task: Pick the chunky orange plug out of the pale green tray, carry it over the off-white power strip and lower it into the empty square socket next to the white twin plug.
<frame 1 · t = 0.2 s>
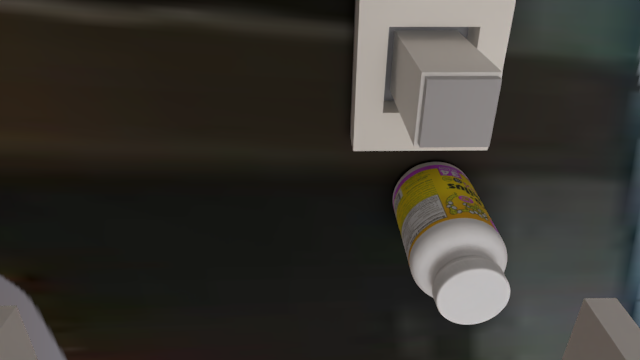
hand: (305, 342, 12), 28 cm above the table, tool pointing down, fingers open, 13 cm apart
supplement bottle: (429, 191, 43), on the table
twin plug: (422, 61, 36), point 1 cm above the table, touching pdu strip
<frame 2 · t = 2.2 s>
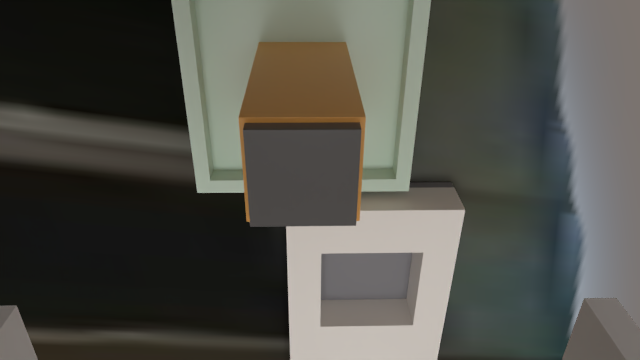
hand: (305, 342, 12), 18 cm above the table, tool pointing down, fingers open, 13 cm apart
pdu strip: (360, 314, 36), on the table
plug: (302, 83, 27), point 1 cm above the table, touching tray
tray: (302, 79, 27), on the table
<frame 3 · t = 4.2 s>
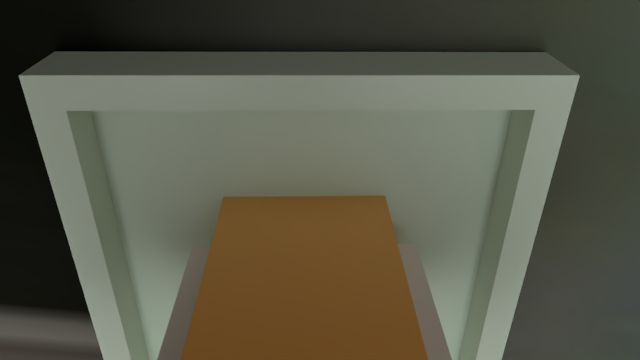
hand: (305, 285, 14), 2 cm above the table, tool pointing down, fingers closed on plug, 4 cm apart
plug: (305, 259, 15), point 1 cm above the table, touching gripper, tray
tray: (305, 247, 15), on the table
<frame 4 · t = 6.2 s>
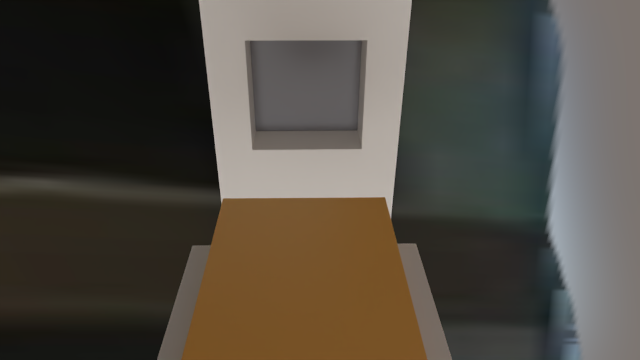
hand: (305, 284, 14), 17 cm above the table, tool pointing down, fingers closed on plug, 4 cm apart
pdu strip: (306, 155, 31), on the table
plug: (304, 261, 15), point 16 cm above the table, touching gripper
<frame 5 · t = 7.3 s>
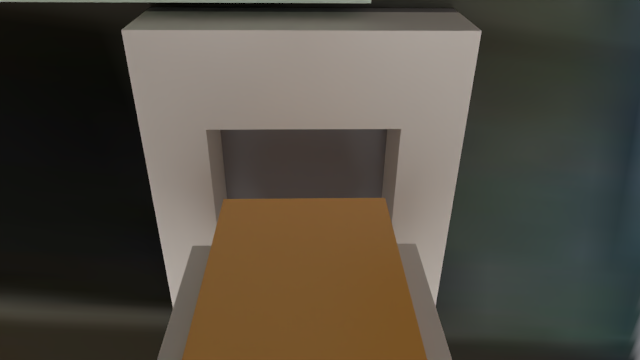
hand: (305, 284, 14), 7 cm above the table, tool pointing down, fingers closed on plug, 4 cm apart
pdu strip: (305, 267, 22), on the table
plug: (305, 261, 15), point 6 cm above the table, touching gripper
when the fingers open (3 cm above the table, at t = 8.2 s): plug drops 2 cm, resting on pdu strip.
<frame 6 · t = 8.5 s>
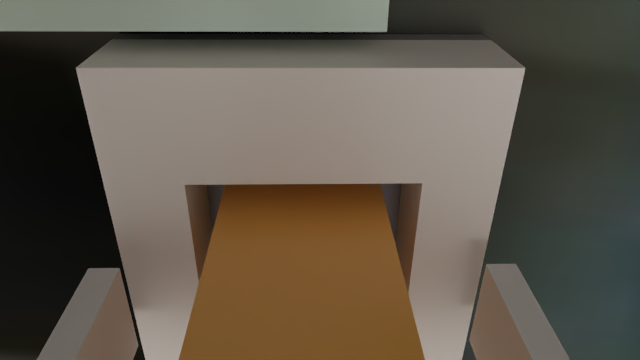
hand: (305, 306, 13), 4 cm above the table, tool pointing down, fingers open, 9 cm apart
pdu strip: (305, 324, 19), on the table
plug: (303, 226, 16), point 1 cm above the table, touching pdu strip
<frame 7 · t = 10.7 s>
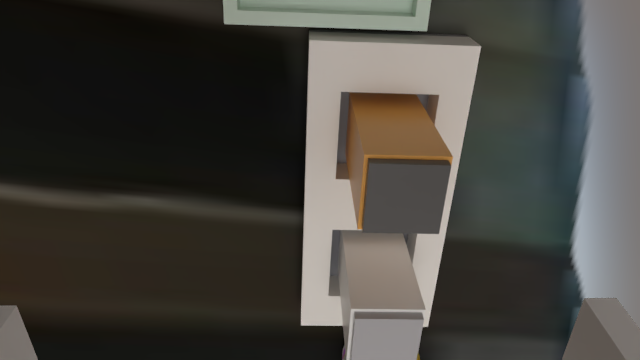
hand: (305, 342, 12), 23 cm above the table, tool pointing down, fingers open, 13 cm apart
pdu strip: (372, 184, 37), on the table
plug: (379, 124, 34), point 1 cm above the table, touching pdu strip
twin plug: (367, 245, 39), point 1 cm above the table, touching pdu strip
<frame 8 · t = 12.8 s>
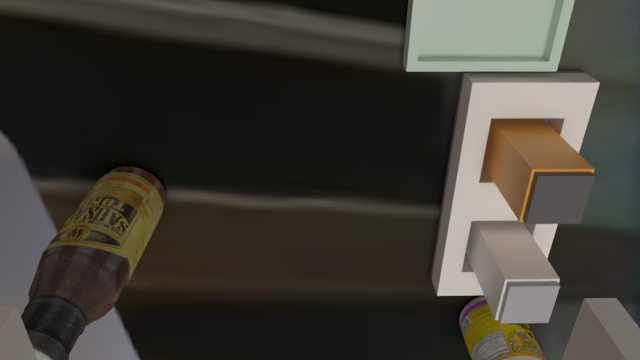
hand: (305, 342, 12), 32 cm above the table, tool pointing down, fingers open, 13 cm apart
pdu strip: (497, 184, 47), on the table
plug: (509, 139, 44), point 1 cm above the table, touching pdu strip
supplement bottle: (487, 311, 56), on the table
twin plug: (490, 231, 49), point 1 cm above the table, touching pdu strip
sauce bottle: (132, 190, 47), on the table
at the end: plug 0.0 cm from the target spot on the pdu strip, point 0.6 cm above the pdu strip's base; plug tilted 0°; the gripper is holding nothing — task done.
